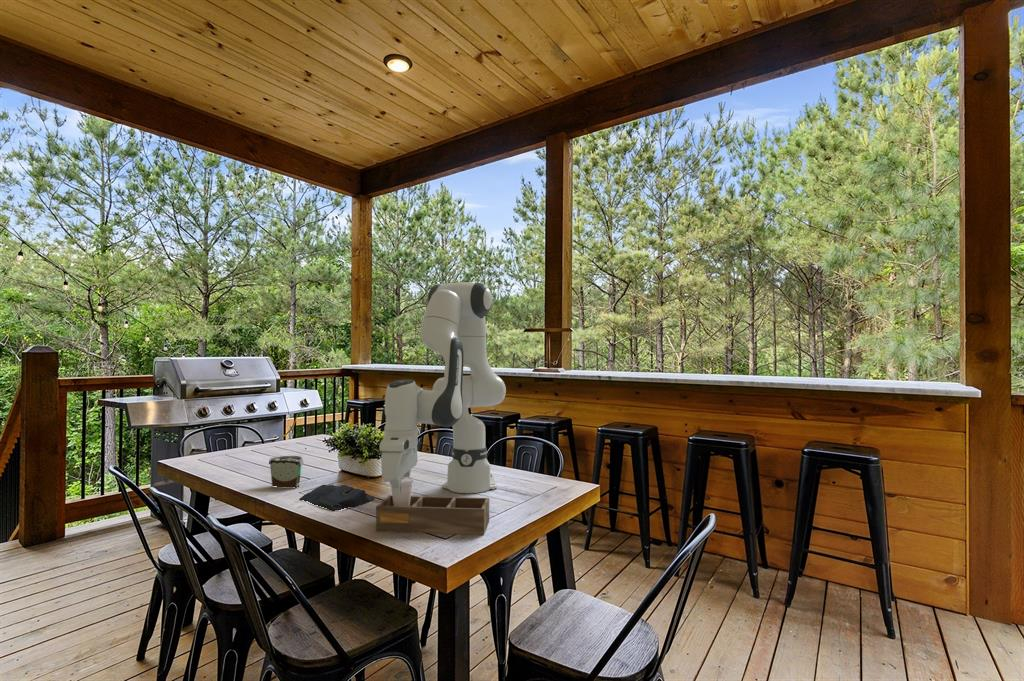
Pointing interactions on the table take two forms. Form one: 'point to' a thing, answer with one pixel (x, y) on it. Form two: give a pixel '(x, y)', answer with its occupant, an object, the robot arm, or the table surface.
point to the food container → (286, 471)
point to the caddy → (434, 515)
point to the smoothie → (403, 492)
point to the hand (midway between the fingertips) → (401, 489)
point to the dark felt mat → (337, 497)
